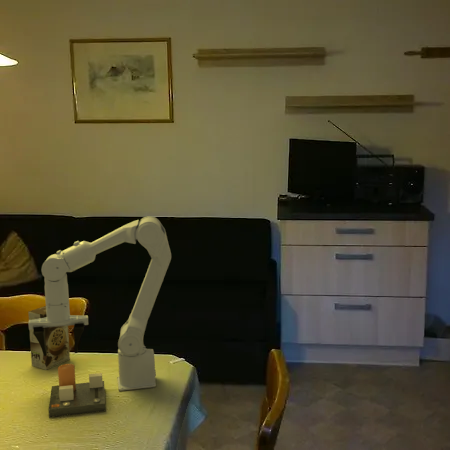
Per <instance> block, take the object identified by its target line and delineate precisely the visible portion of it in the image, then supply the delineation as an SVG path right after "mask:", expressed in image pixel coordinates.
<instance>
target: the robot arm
mask: <svg viewBox="0 0 450 450" xmlns="http://www.w3.org/2000/svg"><path fill="white" fill-rule="evenodd" d="M137 241H138V243H139V244H140V245H141V246H142V247H144V248H145V249H146V250H147V252H148V254H149V256H150V258H151V259H150V262H149V265H148V268H147V271H146V273H145V277H144V278H143V281H142V283H141V286H140V289H139V292H138V294H137V297H136V299H135V303H134V305H133V308H132V309H131V313H130V314H129V317H128V319H127V320H126V322H125V323H124V324H123V325H122V326H121V328H120V331H119V333H120V334H119V339H118V340H117V341H118V342H117V347H118V349H117V359H118V360H117V361H118V377H117V378H116V379H117V387H118V391H129V390H140V389H149V388H155V387H156V386H157V385H156V376H157V373H156V372H157V371H156V367H155V366H156V365H155V364H156V361H155V351H154V349H153V348H146V347H147V346H145V344H144V335H145V333H146V332H145V331H146V329H147V324H148V320H149V318H150V316H151V313H152V310H153V308H154V305H155V302H156V299H157V296H158V295H159V292H160V289H161V286H162V284H163V282H164V278H165V276H166V273H167V270H168V269H169V266H170V263H171V260H172V252H171V248H170V245H169V241H168V236H167V232H166V229H165V227H164V226H163V224H162V223H161V221H160V220H159V219H158V218H157V217H155V216H151V215H148V216H144V217H142V218H141V219H140V220H139V219H137V220H133V221H131V222H129V223H126V224H124V225H122V226H121V227H118V228H116V229H114V230H113V231H111V232H108V233H107V234H105V235H103V236H102V237H100V238H98V239H95V240H94V241H92V242H89V241H86V240H83V241H79V240H77V241H74V243H73V245H72V246H69V247H67V248H66V249H64V250H61V249H59V250H57V251H56V253H54V254H51V255H49V256H48V257H47V258H46V260H44V262H43V263H42V265H41V274H42V277H44V299H45V306H46V315H47V317H46V318H40V319H34V320H29V319H28V322H27V323H28V330H29V331H30V330H31V329H34V332H33V333H34V336H35V337H36V338H37V340H38V342H39V344H40V346H41V348H42V351H43V356H46V355H47V347H46V341H45V327H57V326H68V327H69V326H73V337H74V348H73V349H74V351H73V352H74V354H78V348H79V344H80V339H81V336H82V335H83V332H84V328H85V326H88V325H89V316H88V315H71V311H70V298H69V297H70V295H69V284H68V283H69V282H68V275H67V273H72V272H75V271H77V270H78V269H80V268H83V267H85V266H87V265H89V264H90V263H93V262H94V261H95V260H96V257H97V256H96V255H98V254H100V253H103V252H104V251H107V250H109V249H112V248H113V247H116V246H118V245H121V244H123V243H128V244H134V245H136V244H137Z"/></svg>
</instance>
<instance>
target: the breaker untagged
mask: <svg viewBox="0 0 450 450" xmlns="http://www.w3.org/2000/svg"><path fill="white" fill-rule="evenodd" d="M88 380H89V381H88V382H89V384H90V388H98V387H103V381H104V380H103V372H99V373H97V372H95V373H89V374H88Z"/></svg>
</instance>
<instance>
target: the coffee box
mask: <svg viewBox="0 0 450 450" xmlns="http://www.w3.org/2000/svg"><path fill="white" fill-rule="evenodd" d="M27 313H28V321H29V320H34V319H40V318H46V317H47V315H46V305H45V306H41V307H39V308H36V309H32V310H28V312H27ZM33 332H34V329H31V330H29V342H30V343H29V344H30V345H29V346H30V358H31V360H30V361H31V366H32V367H35V368H38V369H42V370H45V371H46V370H49V369H52V368H54V367H56V366H58V365H60V364H61V365H62V363H65V362H68V361H70V359H71V356H70V355H71V354H70V339H69V326H57V327H45V341H46V347H47V355H46V356H43V351H42V348H41V346H40V344H39V342H38V340H37V338H36V337H35V336H34V333H33Z"/></svg>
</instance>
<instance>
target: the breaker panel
mask: <svg viewBox="0 0 450 450" xmlns="http://www.w3.org/2000/svg"><path fill="white" fill-rule="evenodd" d="M102 381H103V387H98V388H90V384H89V381H87V382H80V383H79V382H78V383H76V390H75V391H73V392H74V400H68V401H60V397H59V385H51V390H50V396H49V402H48V403H49V404H48V409H47V410H48V418H49V419H50V418H57V417H65V416H67V417H68V416H77V415H84V414H86V415H87V414H95V413H101V412H103V413H104V412H106V409H107V408H106V407H107V406H106V392H105V391H106V390H105V380H102Z"/></svg>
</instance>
